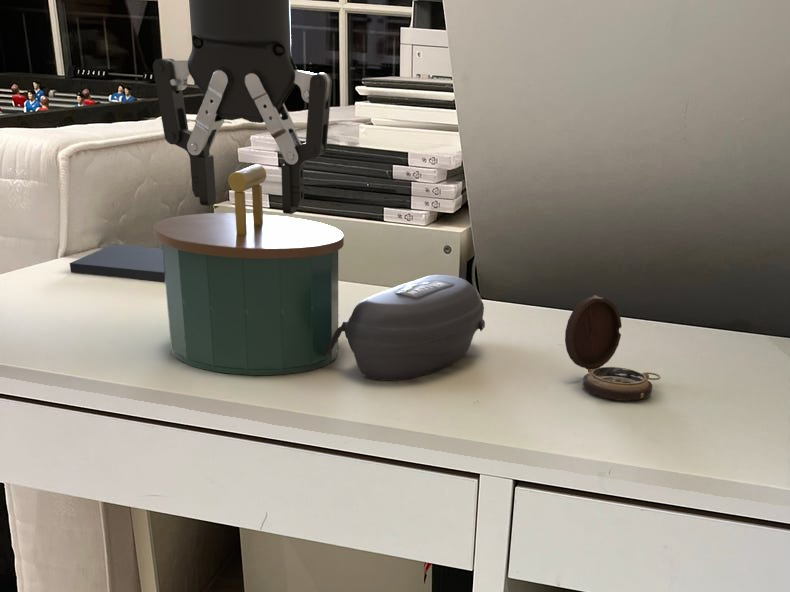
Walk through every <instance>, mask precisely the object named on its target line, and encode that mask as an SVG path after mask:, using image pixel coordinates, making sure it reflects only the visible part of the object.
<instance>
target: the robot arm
mask: <svg viewBox="0 0 790 592" xmlns="http://www.w3.org/2000/svg"><path fill="white" fill-rule="evenodd" d="M188 3H189V5H188V6H189V18H190V32H191V41H192V46H191V52H190V54H189V57H188V58H187V60H186V59H185V60H176V59H173V58H156V59H155V60H154V61H153V63H152V70H153V76H154V82H155V87H156V88H155V89H156V94H157V100H158V106H159V111H160V117H161V125H162V128H163V129H162V130H163V136H164V139H165V141H166V142H167V143H168V144H169V145H175V146H177V147H178V148H181V149H183V150H184V151H186V153H187V155H188V156H189V164H190V176H191V190H192V194H193V195H194V197H195V198H199V204H200V206H205V207H206V206H207V207H210V206H213V205H215V204H216V202H217V194H216V177H215V176H216V175H215V159H214V154H210V150H211V149H212V146H213V144H214V141H215V140H216V137H217V134H218V132H219V130H220V129H221V128H222V126H223V124H224V122H225V121H236V120H240V119H243V120H245V121H248V122H249V123H257V124H263V123H264V124H265V127H266V129H267V130H268V132H269V134H270V136H271V137H272V138H273V139H274V141H275V143H276V145H277V147H278V149H279V151H280V153H281V155H282V157H283V159H284V163H283V164H281V165H280V166H281V168H280V170H281V201H282V205H281V206H282V213H283V214H285V215H286V214H287V215H294V214H295V213H296V212H297V210H298V208H299V207H300V206H302V205H303V202H304V200H305V186H304V185H305V183H304V182H305V181H304V179H305V178H304V175H305V174H304V165H305V163H306V162H307V161H309V160H312V159H316V158H318V157H320V156H323V155H324V154H326V152H327V146H328V136H329V134H328V133H329V122H330V111H331V100H332V99H331V98H332V86H333V80H332V78H331V76H330V75H329V74H328V73H325V72H319V73H314V72H310V71H304V70H301V69H300V70H299V69H297V66H296V64H295V61H294V59H293V55H292V38H291V37H292V34H291V33H292V32H291V31H292V30H291V29H292V28H291V27H292V26H291V0H188ZM189 76H191V78H192V80H193V82H194V83H195V84H196V86H197V88H198V89H199V90H200V92H201V94H202V96H203V100H202V103H201V105H200V107H199V109H198V111H197V114H196V117H195V120H194V126H193V129H192V131H191V130H190V129H189V123H188V119H187V113H186V106H185V99H184V92H183V91H184V90H186V89H187V87H188V79H189ZM296 85H297V87H298V88H299V89H300V93H301V94H300V95H301V98H302V100H303V101H304V102H305V103H307V104H308V107H307V120H306V130H305V131H306V132H305V142H303V143H302V142H301V140H300V138H299V136H298V134H297V131H296V129H295V124H294V122H293V119H292V117H291V115H290V113H289V110H288V108H287V107H286V105H285V102H286V101H287V99H288V98H289V96H290V95H291V93H292V91H293V90H294V88H295V86H296Z"/></svg>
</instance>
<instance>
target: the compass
mask: <svg viewBox="0 0 790 592" xmlns="http://www.w3.org/2000/svg"><path fill="white" fill-rule="evenodd" d="M621 328H622V317H621V314H620V312H619V309H618V307H617V306H616V305H615V304H614V302H613V301H612V300H609V299H608V298H606V297H601V296H599V295H593V296H591V297H587V298H585V299H583V300H582V301H581V302H579V303H578V304H577V305H576V307H574V309H573V310H572V312H571V314H570V316H569V317H568V320H567V323H566V327H565V331H564V332H565V333H564V343H565V348H566V352H567V354H568V357H569V359H570V360H571V361H572V362H573V364H575V365H576V366H578V367H580V368H583V369H586V370H587V373H586V374H585V375H583V377H582V384H581V385H582V388H584V390H586V391H587V392H588V393H590V394H592V395H594V396H597V397H600V398H601V397H602V398H604V399H609V400H617V401H638V400H643V399H645V398H647V397H648V396H650V395H651V394H652V391H653V384H652V381H658V380H660V379H661V375H660V374H657V373H655V372H639V371H636V370H634V369H631V368H625V367H619V366H618V367H617V366H604V365H606V364H607V363H608V362H609V361H610V360H611V359H612V357H613V356H614V355H615V353H616V351H617V349H618V347H619V344H620V340H621V336H622V333H620V329H621ZM650 375H652V376H656V377H650ZM649 380H650V381H649Z"/></svg>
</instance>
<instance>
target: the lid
mask: <svg viewBox="0 0 790 592" xmlns="http://www.w3.org/2000/svg"><path fill="white" fill-rule="evenodd" d="M266 179H267V171H266V169H265V167H264V166H263V165H261V164H259V163H255V164H252V165H249V166H247V167H244V168H242V169H239V170H237V171H234V172H232V173H230V175H229V177H228V180H227V181H228V186H229V188H230V189H231V190H232V191H233V192H234V193H233V195H234V212H213V213H212V212H211V213H210V212H207V213H194V214H192V213H191V214H184V215H177V216H176V215H175V216H171V217H168V218H167V217H166V218H164V219H161V220H158V221H156V222H155V223H154V224H153V226H152V230H153V238H154V239H155V240H156V241H157V242H158V243H160V244H161V245H162V244H164V245H166V246H169V247H172V248H175V249H179V250H183V251H188V252H193V253H198V254H205V255H213V256H221V257H233V258H249V259H289V258H304V257H313V256H319V255H325V254H329V253H332V252H335V251H337V250H338V251H339V250H341V249H343V247H344V244H345V242H344V241H345V240H344V239H345V235H344V233H343V232H342V231H341V230H340V229H338V228H337V227H334V226H331V225H330V224H329V225H328V224H325V223H323V222H318V221H314V220H308V219H303V218H298V217H292V216H291V217H290V216H283V215H274V214H264V212H263V211H264V209H263V185H262V183H264V182H265V181H266ZM249 189H251V198H252V199H251V200H252V213H247V209H246V208H247V207H246V206H247V205H246V192H245V191H248V190H249Z"/></svg>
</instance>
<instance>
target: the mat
mask: <svg viewBox="0 0 790 592" xmlns="http://www.w3.org/2000/svg"><path fill="white" fill-rule="evenodd" d="M69 268H70V273H74V274H83V275H93V276H101V277H102V276H103V277H113V278H123V279H133V280H141V281H143V280H144V281H151V282H163V283H165V276H164V264H163V253H162V248H160V247H149V246H139V245H130V244H129V245H128V244H118V243H112V244H110V245H108V246H105V247H103V248H100V249H99V250H96V251H94V252H91V253H89V254H87V255H85V256H83V257H80V258H78V259H75V260H73V261H72V262H69Z"/></svg>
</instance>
